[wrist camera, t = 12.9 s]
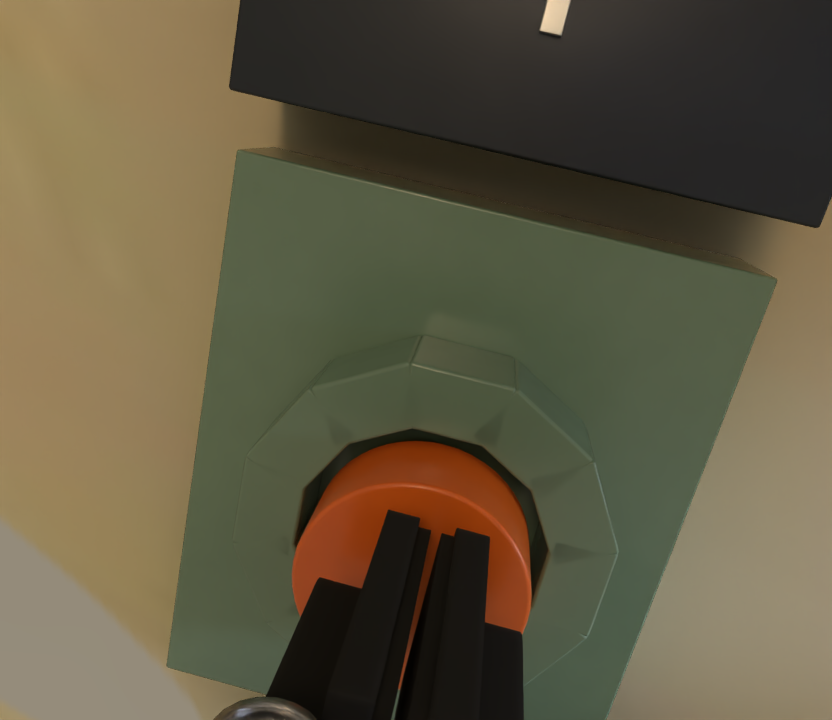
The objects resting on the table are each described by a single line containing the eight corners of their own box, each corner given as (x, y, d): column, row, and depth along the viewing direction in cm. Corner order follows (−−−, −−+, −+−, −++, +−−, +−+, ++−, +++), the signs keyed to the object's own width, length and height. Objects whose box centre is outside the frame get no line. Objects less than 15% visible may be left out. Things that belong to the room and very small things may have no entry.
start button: (337, 414, 13) (312, 456, 11) (554, 470, 13) (561, 520, 11) (300, 597, 14) (273, 658, 13) (498, 651, 14) (496, 719, 13)
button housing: (272, 146, 15) (196, 150, 12) (741, 258, 15) (821, 301, 11) (202, 609, 19) (127, 727, 15) (574, 710, 19) (591, 857, 15)
